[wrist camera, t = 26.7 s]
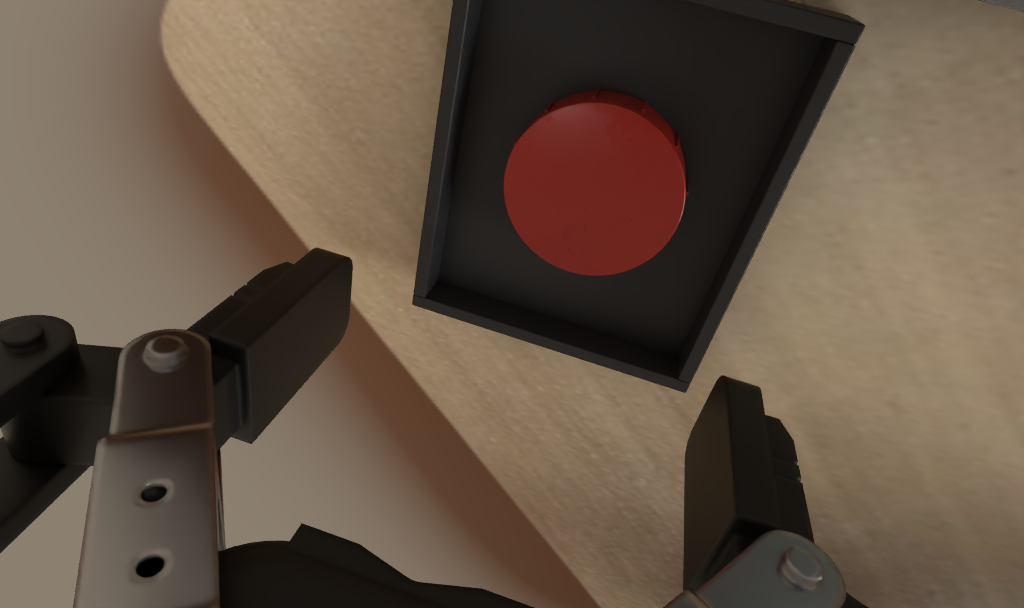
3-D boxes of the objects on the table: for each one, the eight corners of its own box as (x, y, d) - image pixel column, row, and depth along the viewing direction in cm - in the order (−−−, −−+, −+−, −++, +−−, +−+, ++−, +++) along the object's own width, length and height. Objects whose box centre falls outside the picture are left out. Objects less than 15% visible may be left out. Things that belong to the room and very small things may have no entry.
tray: (686, 362, 25) (685, 393, 23) (429, 281, 26) (411, 305, 24) (850, 16, 17) (866, 24, 16) (483, -78, 18) (463, -79, 17)
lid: (599, 48, 19) (592, 58, 18) (724, 181, 20) (726, 200, 19) (483, 174, 22) (468, 191, 21) (596, 282, 23) (590, 305, 22)
